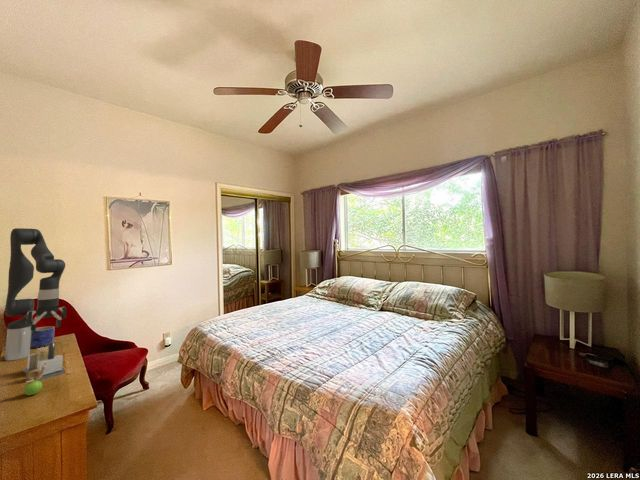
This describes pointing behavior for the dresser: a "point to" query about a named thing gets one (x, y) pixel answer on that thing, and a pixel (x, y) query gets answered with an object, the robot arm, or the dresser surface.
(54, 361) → the free jaw
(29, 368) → the vise
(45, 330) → the planter
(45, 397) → the dresser surface
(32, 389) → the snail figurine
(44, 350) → the brass block
